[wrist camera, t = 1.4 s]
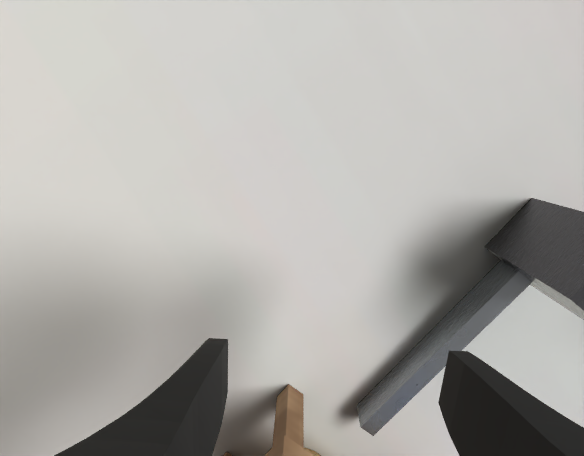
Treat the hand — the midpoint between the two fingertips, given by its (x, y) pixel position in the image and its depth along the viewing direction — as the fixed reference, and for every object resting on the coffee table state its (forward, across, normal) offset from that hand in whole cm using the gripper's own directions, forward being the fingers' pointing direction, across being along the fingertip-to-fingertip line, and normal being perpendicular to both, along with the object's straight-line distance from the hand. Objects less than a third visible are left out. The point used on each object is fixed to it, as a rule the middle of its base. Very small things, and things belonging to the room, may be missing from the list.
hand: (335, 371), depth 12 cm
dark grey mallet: (+10, -8, +3) cm, 13 cm away
